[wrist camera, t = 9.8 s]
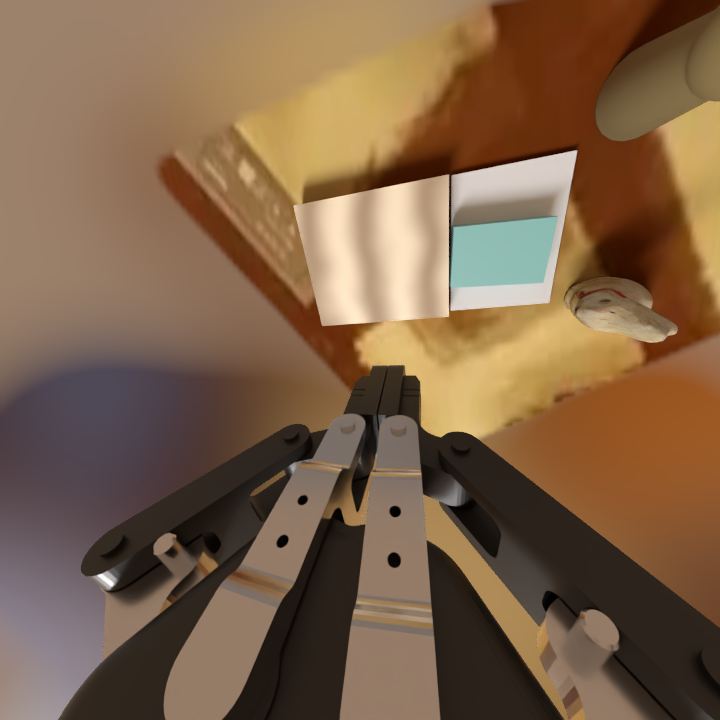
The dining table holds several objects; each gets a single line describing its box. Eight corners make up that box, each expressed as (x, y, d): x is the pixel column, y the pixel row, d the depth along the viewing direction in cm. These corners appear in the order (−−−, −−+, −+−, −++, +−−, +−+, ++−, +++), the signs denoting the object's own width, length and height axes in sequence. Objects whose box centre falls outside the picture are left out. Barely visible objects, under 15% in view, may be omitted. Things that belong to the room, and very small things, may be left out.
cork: (614, 44, 21) (771, -86, 11) (709, 33, 20) (967, -120, 10) (583, 143, 24) (685, 104, 14) (663, 139, 23) (831, 94, 13)
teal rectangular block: (547, 215, 26) (558, 216, 24) (534, 277, 29) (543, 282, 27) (451, 225, 28) (453, 227, 26) (448, 282, 31) (450, 287, 29)
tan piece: (593, 255, 28) (667, 278, 19) (652, 294, 28) (749, 332, 20) (549, 300, 31) (597, 336, 22) (603, 334, 31) (670, 382, 23)
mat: (574, 151, 24) (577, 150, 24) (547, 301, 31) (549, 302, 30) (451, 175, 27) (451, 175, 26) (450, 309, 33) (450, 310, 33)
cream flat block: (446, 176, 27) (448, 174, 25) (447, 309, 33) (448, 316, 31) (302, 205, 31) (293, 205, 29) (327, 319, 38) (322, 325, 35)
